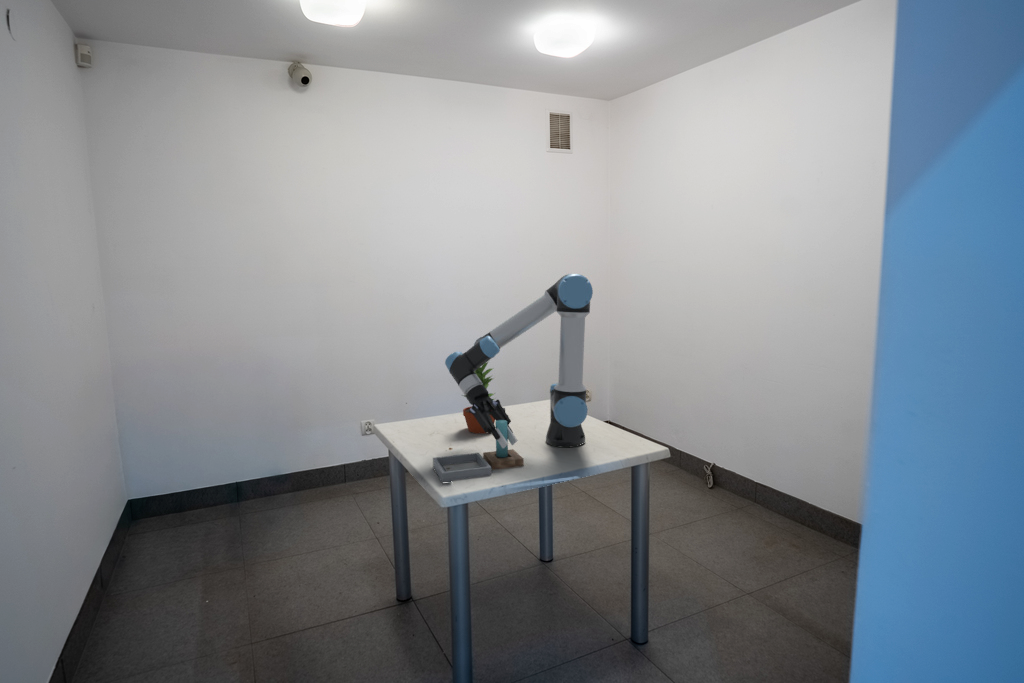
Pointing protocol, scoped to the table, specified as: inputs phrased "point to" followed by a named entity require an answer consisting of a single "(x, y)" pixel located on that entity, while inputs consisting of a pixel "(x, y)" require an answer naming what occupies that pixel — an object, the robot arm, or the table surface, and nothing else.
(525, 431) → the table surface
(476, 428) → the potted plant
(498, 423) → the ball
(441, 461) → the tray
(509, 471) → the table surface
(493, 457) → the hole block
